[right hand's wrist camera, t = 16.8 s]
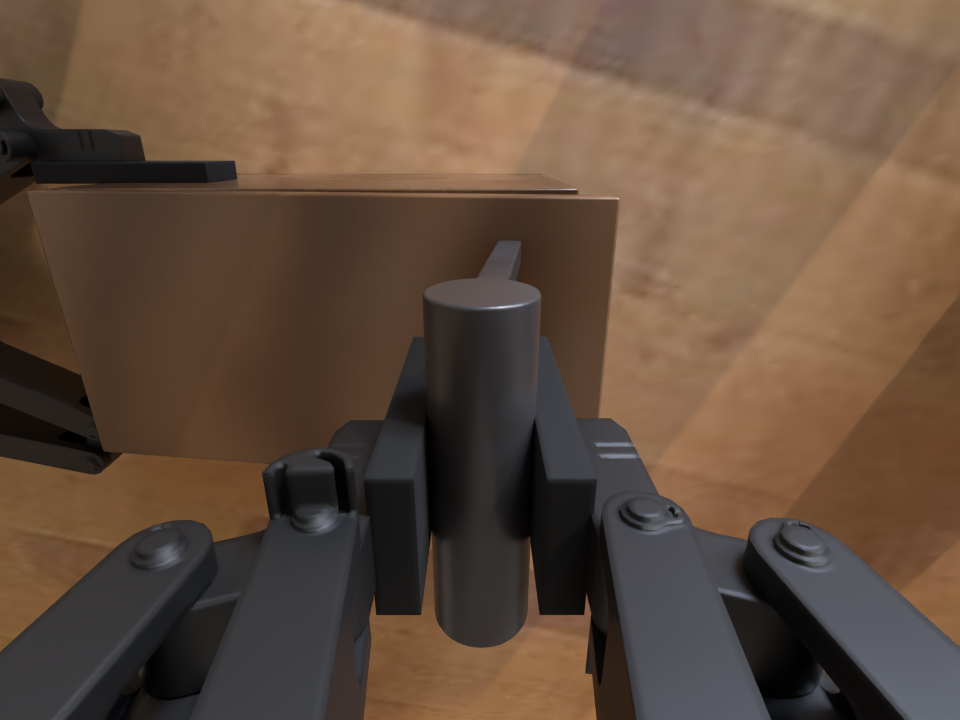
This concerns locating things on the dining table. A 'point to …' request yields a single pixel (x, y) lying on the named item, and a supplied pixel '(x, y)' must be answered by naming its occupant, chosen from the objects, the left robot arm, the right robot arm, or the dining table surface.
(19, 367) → the left robot arm
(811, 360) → the dining table surface
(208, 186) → the chest
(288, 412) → the lid
